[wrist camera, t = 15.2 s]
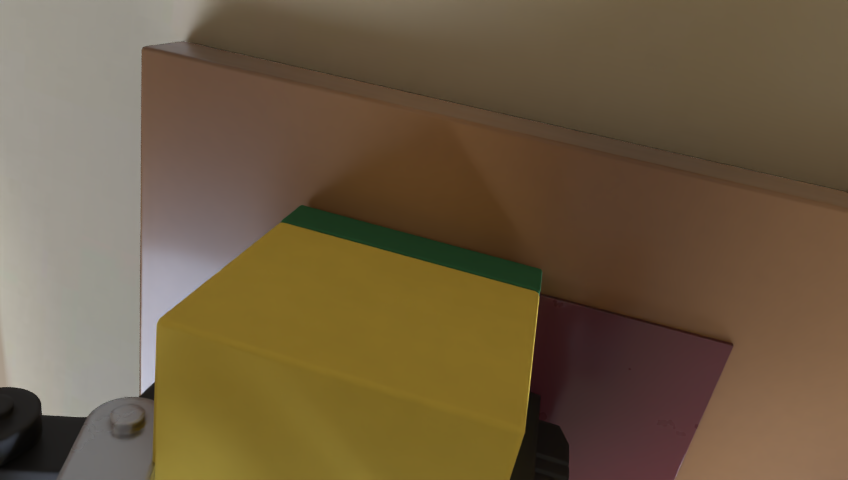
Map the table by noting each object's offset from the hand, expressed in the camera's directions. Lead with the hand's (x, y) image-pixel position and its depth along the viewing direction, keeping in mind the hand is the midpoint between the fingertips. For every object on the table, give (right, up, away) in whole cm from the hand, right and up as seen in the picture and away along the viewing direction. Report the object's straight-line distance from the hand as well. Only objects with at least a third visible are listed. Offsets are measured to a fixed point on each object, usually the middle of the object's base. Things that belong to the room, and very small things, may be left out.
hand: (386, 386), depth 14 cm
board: (+3, 0, +1) cm, 3 cm away
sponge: (0, 0, 0) cm, 0 cm away
